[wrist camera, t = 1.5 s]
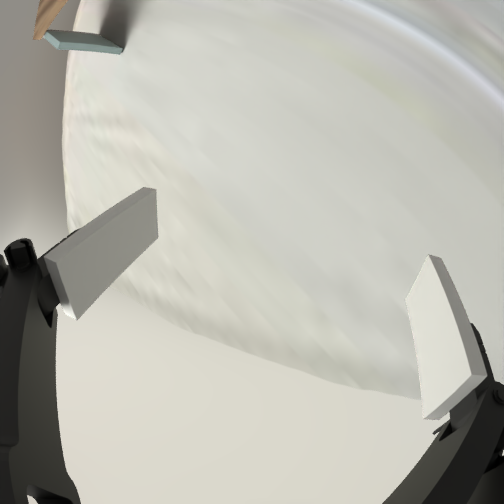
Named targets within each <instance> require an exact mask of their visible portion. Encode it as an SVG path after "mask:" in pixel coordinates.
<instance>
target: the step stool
mask: <svg viewBox="0 0 504 504" xmlns="http://www.w3.org/2000/svg"><path fill="white" fill-rule="evenodd" d="M67 1H68V0H40V3H39V8H38V13H37V18H36V24H35V30H34V37H33V39H34V40H39V39H40V40H41V38H42V37H43V35H44V34H45V32H46V30H47V29H48V27H49V26H50V24H51V23H52V21H53V20H54V18H55V17H56V16H57V14H58V13H59V12H60V10H61V9H62V7H63V6H64V5H65V3H66V2H67Z"/></svg>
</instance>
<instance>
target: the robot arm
mask: <svg viewBox="0 0 504 504" xmlns="http://www.w3.org/2000/svg"><path fill="white" fill-rule="evenodd" d="M157 238H158V223H157V199H156V189H152V188H146V187H143V188H141V189H140V190H138V191H136V192H135V193H133V194H132V195H130V196H128V197H127V198H125V199H124V200H122V201H120V202H119V203H117V204H116V205H114V206H113V207H111V208H110V209H108V210H107V211H105V212H104V213H102V214H101V215H99V216H98V217H96V218H95V219H93V220H92V221H91V222H89V223H88V224H86V225H85V226H84V227H82V228H80V229H77V230H75V231H74V232H72V233H71V234H70V235H68V236H67V238H64V239H63V240H62V241H60V243H58V244H56V245H55V246H54V247H52V248H51V249H50V250H49V251H47V252H46V253H45V254H43V255H42V256H41V257H40V258H38V259H37V256H36V253H35V250H34V247H33V243H32V241H31V240H30V239H27V238H24V239H19V240H16V241H14V242H12V243H11V244H9V245H8V246H7V247H6V248H5V250H4V253H5V256H6V258H7V261H8V264H9V265H6V263H5V260H4V257H3V256H2V255H1V254H0V504H29V502H28V498H27V495H29V496H32V497H33V498H34V499H35V500H36V501H37V503H38V504H81V502H80V498H79V495H78V492H77V489H76V487H75V485H74V483H73V481H72V480H71V478H70V477H69V475H68V473H67V471H66V468H65V462H64V457H63V451H62V446H61V438H60V431H59V421H58V411H57V397H56V367H55V366H56V365H55V364H56V360H55V359H56V358H55V357H56V330H57V316H58V314H57V310H56V306H57V305H58V304H59V303H60V304H61V306H62V309H63V311H64V313H65V314H66V315H68V316H70V317H72V318H73V319H75V320H78V319H79V318H80V317H81V316H82V315H83V314H84V312H85V311H86V310H87V309H88V308H89V307H90V306H91V305H92V304H93V303H94V301H96V299H97V298H98V297H99V296H100V295H101V294H102V293H103V292H104V291H105V290H106V289H107V288H108V287H109V286H110V285H111V284H112V283H113V282H114V281H115V280H116V279H117V278H118V277H119V276H120V275H121V274H122V273H123V272H124V271H125V270H126V269H127V268H128V267H129V266H130V265H131V264H132V263H133V262H134V261H135V260H136V259H137V258H138V257H139V256H140V255H141V254H142V253H143V252H144V251H145V250H146V249H147V248H148V247H149V246H150V245H151V244H152V243H153V242H154V241H155V240H156V239H157ZM405 301H406V306H407V310H408V315H409V319H410V324H411V329H412V334H413V340H414V346H415V352H416V358H417V364H418V372H419V379H420V388H421V397H422V408H423V419H432V420H439V419H440V418H442V417H443V416H444V415H446V414H447V413H448V412H450V420H448V421H447V422H446V423H444V424H443V425H442V426H441V427H439V428H438V429H436V430H435V431H434V432H433V434H434V435H435V434H436V433H437V432H439V431H440V432H439V434H438V435H437V437H436V438H435V440H434V441H433V443H432V444H431V445H430V447H429V448H428V450H427V451H426V452H425V454H424V455H423V456H422V458H421V459H420V460H419V462H418V463H417V464H416V466H415V467H414V468H413V469H412V471H411V472H410V473H409V474H408V475H407V477H406V478H405V479H404V480H403V482H402V483H401V484H400V485H399V486H398V487H397V488H396V489H395V491H394V492H393V493H392V494H391V495H390V496H389V497H388V498H387V499H386V500H385V501H384V502H383V503H382V504H504V456H502V453H503V450H504V385H503V384H501V383H500V382H496V381H495V380H494V377H493V373H492V370H491V366H490V363H489V360H488V357H487V354H486V353H485V352H486V351H485V348H484V345H483V342H482V339H481V336H480V334H479V332H478V331H477V329H476V328H475V326H474V325H473V323H470V321H469V319H468V316H467V314H466V311H465V309H464V306H463V304H462V301H461V299H460V297H459V295H458V292H457V290H456V288H455V286H454V283H453V281H452V279H451V277H450V275H449V273H448V271H447V269H446V267H445V265H444V263H443V261H442V259H441V258H439V257H436V256H432V255H429V254H428V256H427V258H426V260H425V262H424V264H423V266H422V268H421V271H420V273H419V275H418V277H417V278H416V280H415V282H414V284H413V286H412V288H411V290H410V292H409V294H408V296H407V297H406V299H405Z"/></svg>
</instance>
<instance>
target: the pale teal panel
mask: <svg viewBox="0 0 504 504" xmlns="http://www.w3.org/2000/svg"><path fill="white" fill-rule="evenodd" d="M43 38H45V39H46V40H48V41H49V42H50V43H51V44H52V45H53V46H54V47H55V48H56V49H61V50H62V49H63V50H80V51H93V52H103V53H111V54H119V55H120V54H121V51H122V49H123V48H121V47H119V46H118V45H116V44H114V43H112V42H111V41H109V40H107V39H105V38H103V37H102V36H100V34H94V33H85V32H75V31H62V30H46V32H45V34H44V35H43Z"/></svg>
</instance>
